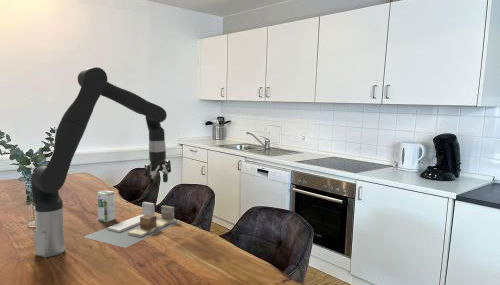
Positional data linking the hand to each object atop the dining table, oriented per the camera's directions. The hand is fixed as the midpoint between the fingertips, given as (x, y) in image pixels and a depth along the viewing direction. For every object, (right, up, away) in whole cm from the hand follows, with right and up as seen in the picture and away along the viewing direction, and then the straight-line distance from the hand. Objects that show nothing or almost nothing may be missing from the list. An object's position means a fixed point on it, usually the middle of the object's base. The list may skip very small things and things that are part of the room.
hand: (158, 184), depth 174 cm
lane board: (-9, -20, -7) cm, 23 cm away
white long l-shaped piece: (-12, -19, 0) cm, 22 cm away
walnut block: (-3, -18, -8) cm, 20 cm away
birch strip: (-1, -19, -5) cm, 20 cm away
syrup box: (-26, -19, +5) cm, 33 cm away
